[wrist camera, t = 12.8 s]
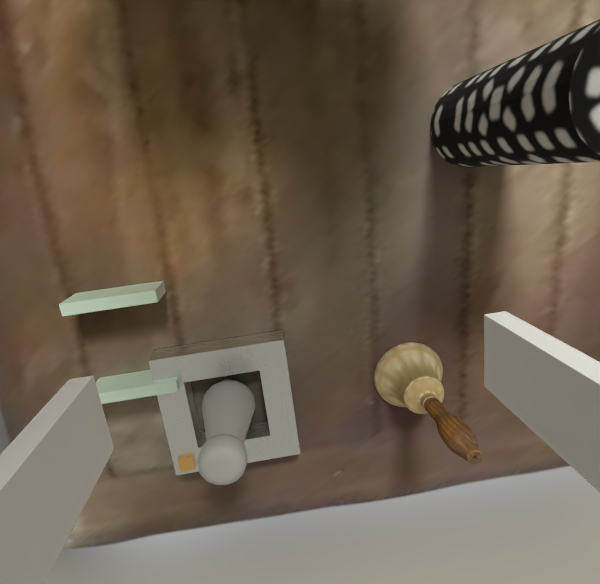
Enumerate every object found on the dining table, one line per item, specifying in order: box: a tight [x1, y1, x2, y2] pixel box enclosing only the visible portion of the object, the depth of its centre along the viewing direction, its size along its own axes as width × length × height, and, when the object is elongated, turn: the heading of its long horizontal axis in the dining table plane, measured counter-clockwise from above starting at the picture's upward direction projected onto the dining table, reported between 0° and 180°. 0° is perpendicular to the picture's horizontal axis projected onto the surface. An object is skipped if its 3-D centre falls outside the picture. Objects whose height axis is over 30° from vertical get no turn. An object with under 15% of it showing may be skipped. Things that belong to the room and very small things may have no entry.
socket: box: [149, 330, 300, 475], centre depth 47 cm, size 14×14×4 cm
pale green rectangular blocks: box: [59, 281, 180, 404], centre depth 44 cm, size 11×9×4 cm
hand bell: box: [374, 342, 482, 464], centre depth 43 cm, size 8×8×16 cm
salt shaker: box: [198, 379, 256, 485], centre depth 43 cm, size 6×6×13 cm
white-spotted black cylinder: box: [431, 20, 600, 167], centre depth 34 cm, size 8×8×20 cm
